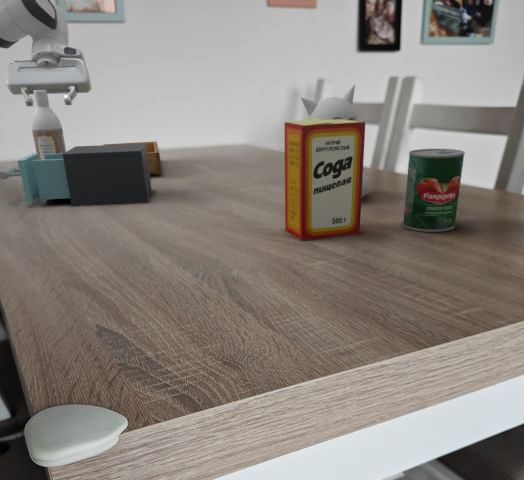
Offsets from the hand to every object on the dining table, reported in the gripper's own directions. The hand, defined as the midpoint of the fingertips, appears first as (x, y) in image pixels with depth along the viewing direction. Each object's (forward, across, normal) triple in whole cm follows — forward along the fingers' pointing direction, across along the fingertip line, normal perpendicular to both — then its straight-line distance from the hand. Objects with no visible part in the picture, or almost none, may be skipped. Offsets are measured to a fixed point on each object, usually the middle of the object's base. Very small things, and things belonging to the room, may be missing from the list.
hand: (48, 104), depth 137 cm
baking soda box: (+63, +54, -39) cm, 92 cm away
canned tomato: (+63, +71, -39) cm, 103 cm away
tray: (+10, +18, +14) cm, 25 cm away
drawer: (+37, +7, -15) cm, 40 cm away
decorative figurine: (+46, +61, -22) cm, 79 cm away
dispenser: (+38, +18, -14) cm, 44 cm away
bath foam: (+17, 0, +7) cm, 18 cm away
